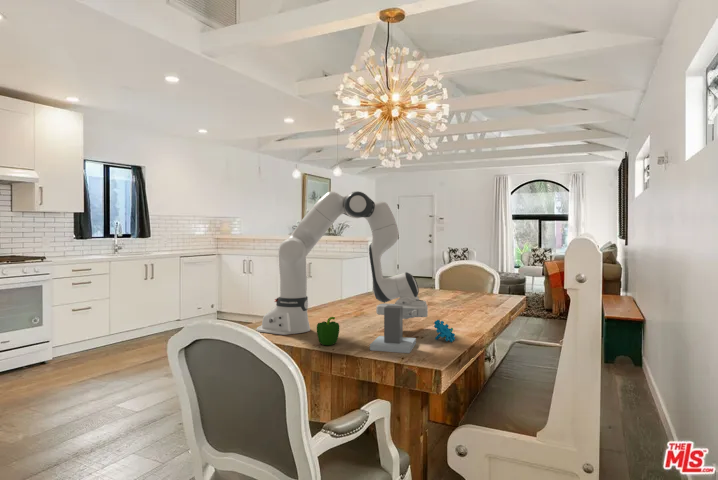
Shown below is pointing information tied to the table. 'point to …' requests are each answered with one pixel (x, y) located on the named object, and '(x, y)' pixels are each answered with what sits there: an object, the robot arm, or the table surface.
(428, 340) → the table surface
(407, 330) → the table surface
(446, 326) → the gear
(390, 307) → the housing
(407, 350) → the base plate
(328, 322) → the bell pepper
